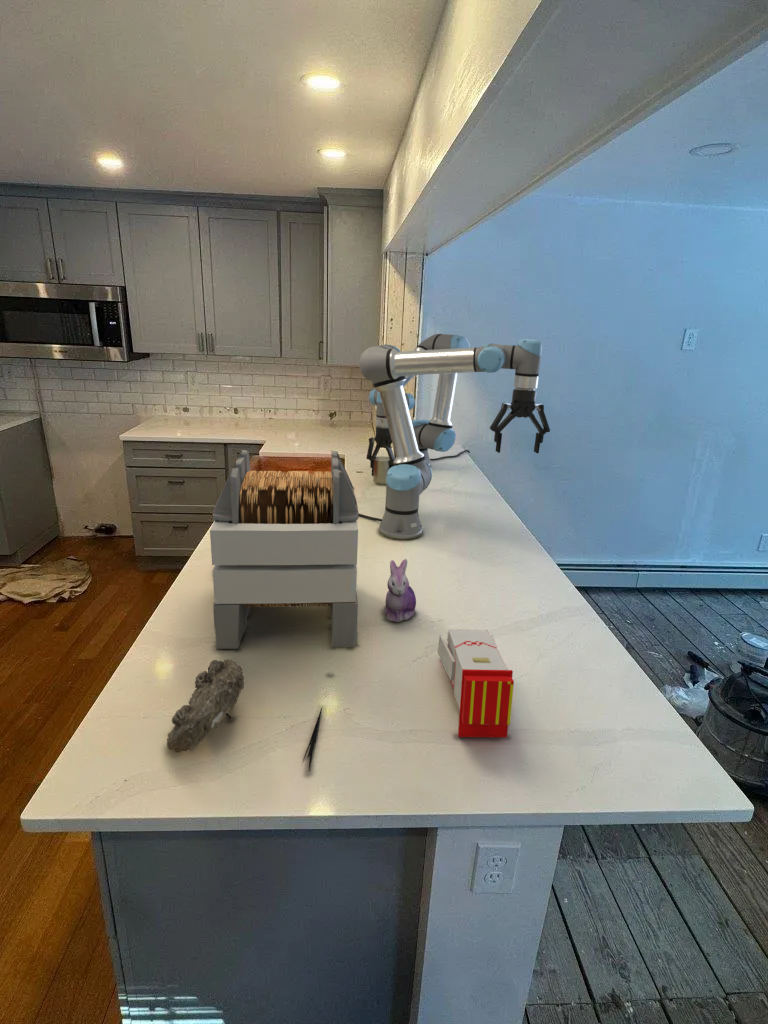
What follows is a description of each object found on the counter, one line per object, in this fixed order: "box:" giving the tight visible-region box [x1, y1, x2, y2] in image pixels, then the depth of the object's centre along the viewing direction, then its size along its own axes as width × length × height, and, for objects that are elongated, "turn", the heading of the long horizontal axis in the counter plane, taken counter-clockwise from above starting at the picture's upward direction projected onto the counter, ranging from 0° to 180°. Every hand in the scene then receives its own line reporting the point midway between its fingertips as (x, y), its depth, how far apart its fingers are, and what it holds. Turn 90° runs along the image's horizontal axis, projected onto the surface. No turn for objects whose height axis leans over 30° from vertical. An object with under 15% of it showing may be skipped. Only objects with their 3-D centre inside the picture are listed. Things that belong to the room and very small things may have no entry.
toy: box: [437, 628, 515, 738], centre depth 117 cm, size 12×13×30 cm
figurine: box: [384, 558, 417, 623], centre depth 145 cm, size 9×10×15 cm
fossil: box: [166, 658, 245, 754], centre depth 106 cm, size 22×10×15 cm
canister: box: [372, 455, 391, 484], centre depth 254 cm, size 8×8×10 cm
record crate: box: [209, 449, 360, 651], centre depth 139 cm, size 34×33×41 cm
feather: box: [301, 673, 332, 771], centre depth 108 cm, size 2×28×2 cm
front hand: (517, 452), depth 193 cm, fingers open, 13 cm apart
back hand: (382, 476), depth 255 cm, fingers closed on canister, 8 cm apart
